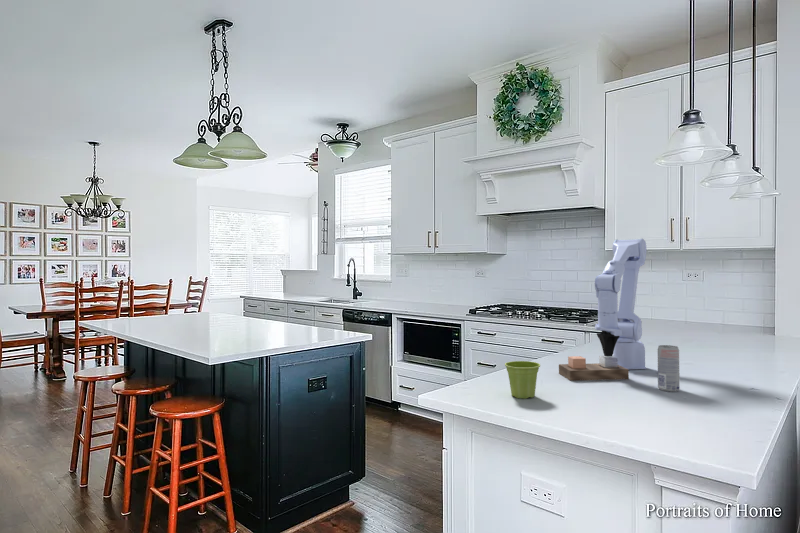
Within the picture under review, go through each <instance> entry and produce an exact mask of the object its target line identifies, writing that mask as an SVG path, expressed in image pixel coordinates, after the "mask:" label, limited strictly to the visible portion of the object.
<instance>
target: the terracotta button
mask: <svg viewBox="0 0 800 533" xmlns="http://www.w3.org/2000/svg"><path fill="white" fill-rule="evenodd" d="M567 358H568V359H567V360H568V361H567V362H568V363H567V364H568V366H569V367H571V368H573V369H579V368H586V364H587V361H586V357H583V356H580V355H579V356H578V355H577V356H575V355H573V356H567Z"/></svg>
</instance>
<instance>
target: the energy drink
mask: <svg viewBox="0 0 800 533" xmlns="http://www.w3.org/2000/svg"><path fill="white" fill-rule="evenodd" d="M657 388H658V389H659V390H660V391H663V392H672V393H673V392H678V391H680V388H681V387H680V349H679V347H678V345H670V344H669V345H668V344H665V345H664V344H661V345H660V344H659V345H658V347H657Z"/></svg>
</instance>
